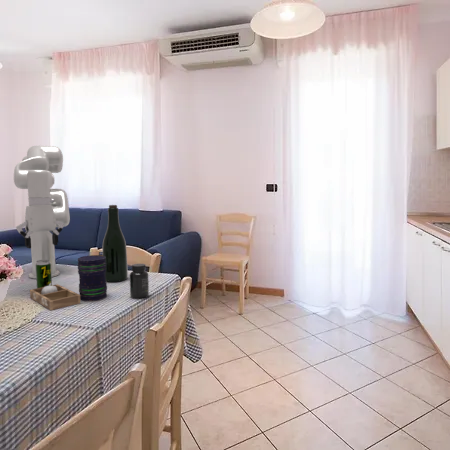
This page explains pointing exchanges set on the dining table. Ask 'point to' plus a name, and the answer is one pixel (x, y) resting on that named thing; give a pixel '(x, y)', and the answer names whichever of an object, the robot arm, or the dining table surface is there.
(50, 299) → the slot rack
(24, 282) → the dining table surface
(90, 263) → the storage jar
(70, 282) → the dining table surface
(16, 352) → the dining table surface
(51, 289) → the garlic
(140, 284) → the supplement bottle
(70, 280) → the dining table surface
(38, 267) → the beer can
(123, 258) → the wine bottle
